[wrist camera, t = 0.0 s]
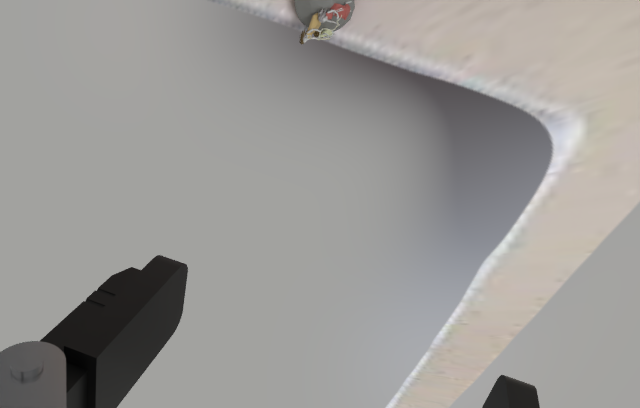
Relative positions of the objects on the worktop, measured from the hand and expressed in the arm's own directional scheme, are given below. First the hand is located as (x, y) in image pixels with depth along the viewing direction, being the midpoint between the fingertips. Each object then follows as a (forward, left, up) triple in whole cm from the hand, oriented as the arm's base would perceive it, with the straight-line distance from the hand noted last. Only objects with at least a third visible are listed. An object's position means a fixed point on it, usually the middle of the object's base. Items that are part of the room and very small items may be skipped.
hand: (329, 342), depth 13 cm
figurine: (0, -12, -32) cm, 34 cm away
